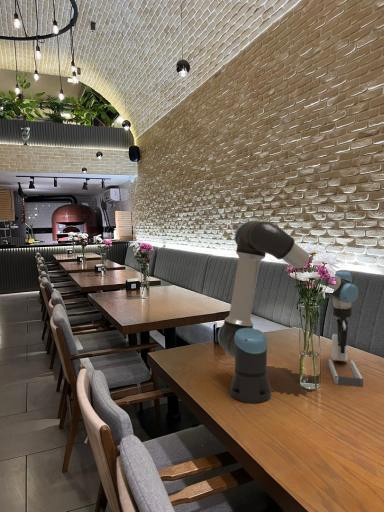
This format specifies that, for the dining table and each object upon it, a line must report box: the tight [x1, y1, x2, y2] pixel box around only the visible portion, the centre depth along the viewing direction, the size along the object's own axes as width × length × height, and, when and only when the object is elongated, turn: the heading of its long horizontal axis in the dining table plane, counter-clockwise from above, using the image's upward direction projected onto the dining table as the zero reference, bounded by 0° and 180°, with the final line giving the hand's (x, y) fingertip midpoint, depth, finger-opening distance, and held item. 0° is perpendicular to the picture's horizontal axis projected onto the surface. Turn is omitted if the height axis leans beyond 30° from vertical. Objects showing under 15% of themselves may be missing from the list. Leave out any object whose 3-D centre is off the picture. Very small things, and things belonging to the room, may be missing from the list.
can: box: [331, 332, 348, 362], centre depth 173 cm, size 6×6×12 cm
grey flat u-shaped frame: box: [328, 358, 364, 387], centre depth 158 cm, size 20×10×3 cm, turn 167°
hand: (342, 359), depth 168 cm, fingers closed
